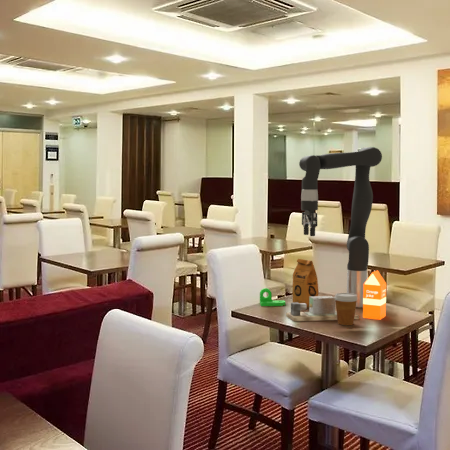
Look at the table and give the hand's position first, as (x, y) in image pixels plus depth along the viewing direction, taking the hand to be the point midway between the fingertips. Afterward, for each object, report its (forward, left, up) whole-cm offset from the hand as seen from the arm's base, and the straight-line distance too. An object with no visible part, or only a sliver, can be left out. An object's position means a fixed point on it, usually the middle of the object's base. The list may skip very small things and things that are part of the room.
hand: (309, 235), depth 264 cm
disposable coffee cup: (-6, +29, -35) cm, 45 cm away
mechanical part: (+13, -15, -35) cm, 40 cm away
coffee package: (-3, -12, -35) cm, 37 cm away
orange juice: (-24, +18, -35) cm, 46 cm away
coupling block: (-1, +16, -33) cm, 36 cm away
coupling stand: (-1, +16, -34) cm, 38 cm away
